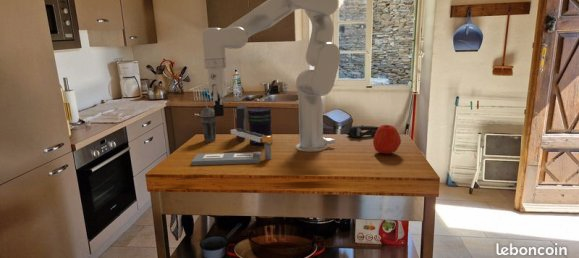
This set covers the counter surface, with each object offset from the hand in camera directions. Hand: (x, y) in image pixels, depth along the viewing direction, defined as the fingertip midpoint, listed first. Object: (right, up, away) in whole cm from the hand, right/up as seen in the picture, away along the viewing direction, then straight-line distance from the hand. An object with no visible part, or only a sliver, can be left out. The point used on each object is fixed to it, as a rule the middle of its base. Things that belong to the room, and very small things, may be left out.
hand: (219, 115), depth 141 cm
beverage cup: (-10, -11, +34) cm, 37 cm away
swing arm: (+10, -8, +11) cm, 17 cm away
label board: (+4, -16, +3) cm, 17 cm away
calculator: (+4, -10, +37) cm, 38 cm away
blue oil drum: (+13, -11, +27) cm, 32 cm away
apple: (+62, -14, +9) cm, 64 cm away
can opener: (+60, -9, +35) cm, 70 cm away
